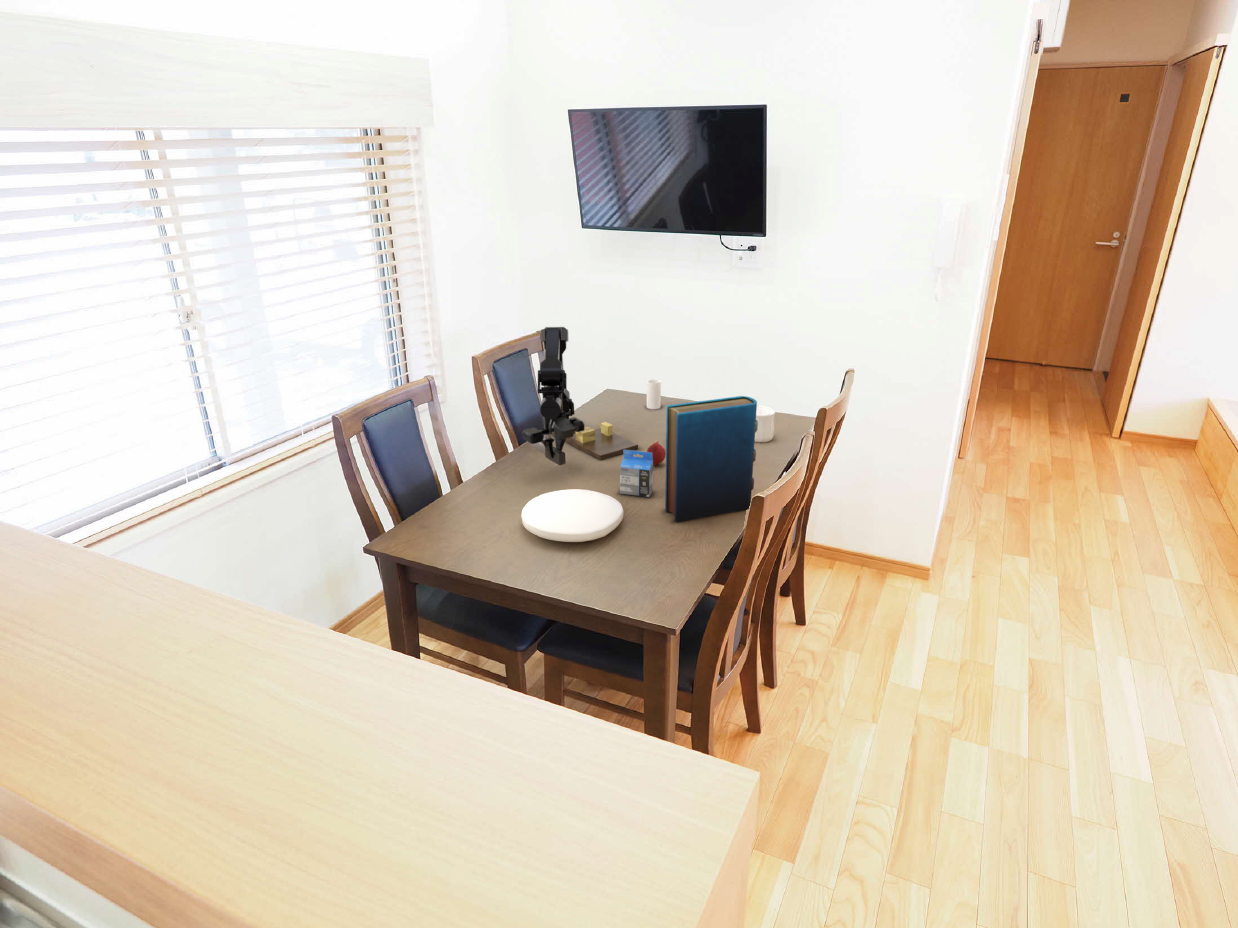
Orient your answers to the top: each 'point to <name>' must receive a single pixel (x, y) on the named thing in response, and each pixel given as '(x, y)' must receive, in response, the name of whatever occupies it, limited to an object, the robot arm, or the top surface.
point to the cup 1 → (653, 394)
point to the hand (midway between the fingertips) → (555, 456)
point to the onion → (657, 453)
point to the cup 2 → (764, 424)
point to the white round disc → (572, 515)
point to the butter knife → (557, 454)
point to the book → (710, 457)
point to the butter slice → (606, 429)
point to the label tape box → (636, 473)
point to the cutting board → (600, 443)
